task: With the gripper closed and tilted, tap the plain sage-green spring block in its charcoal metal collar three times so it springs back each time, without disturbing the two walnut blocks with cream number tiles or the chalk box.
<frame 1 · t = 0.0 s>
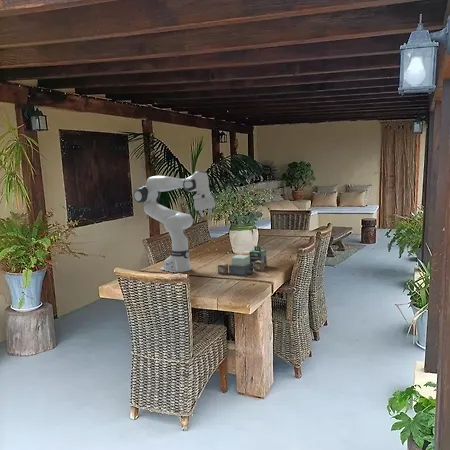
hand: (206, 215, 292), 39 cm above the table, tool pointing down, fingers open, 8 cm apart
chalk box: (258, 267, 308), on the table
metal collar: (241, 273, 293), on the table
walnut block left: (223, 273, 294), on the table
walnut block right: (259, 270, 298), on the table
plain block: (240, 262, 292), point 7 cm above the table, slide at -0.8 cm
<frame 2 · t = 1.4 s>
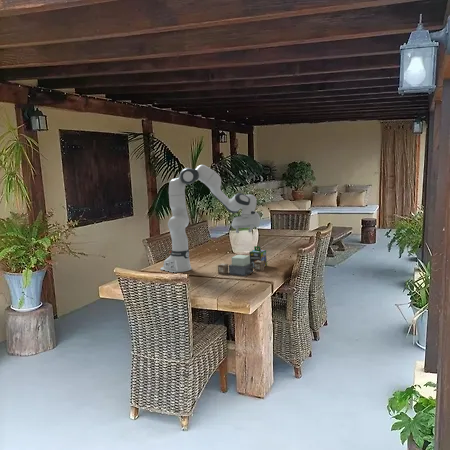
hand: (243, 232, 297), 26 cm above the table, tool tilted 45°, fingers open, 8 cm apart
nothing on the table moved.
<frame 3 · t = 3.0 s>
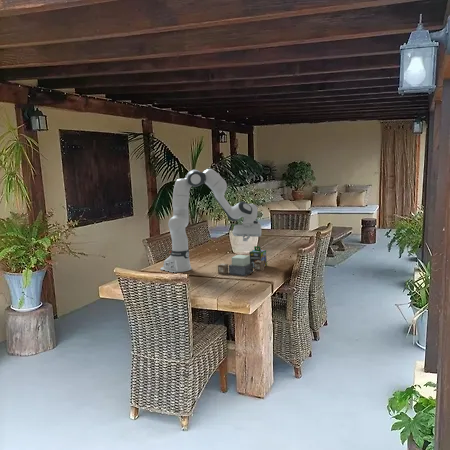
hand: (245, 240, 300), 20 cm above the table, tool tilted 45°, fingers closed
nothing on the table moved.
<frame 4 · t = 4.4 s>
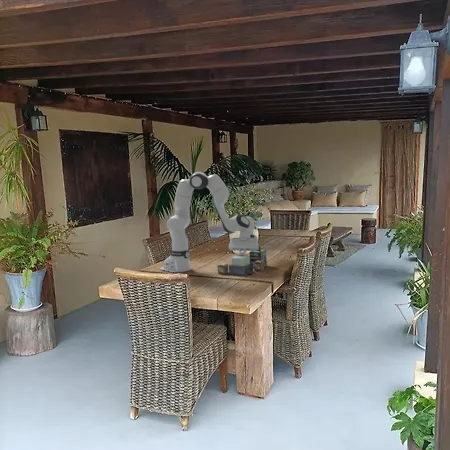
hand: (241, 255, 292), 12 cm above the table, tool tilted 45°, fingers closed
plain block: (240, 262, 292), point 7 cm above the table, slide at -0.9 cm, touching gripper
everything else where it was.
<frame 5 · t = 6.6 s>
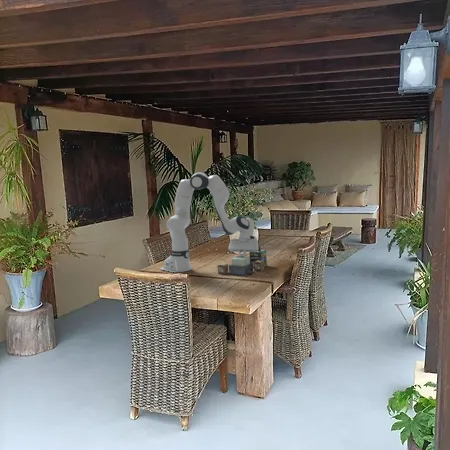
hand: (241, 256, 292), 11 cm above the table, tool tilted 45°, fingers closed, pressing on plain block
plain block: (240, 263, 292), point 6 cm above the table, slide at -1.6 cm, touching gripper
everything else where it was.
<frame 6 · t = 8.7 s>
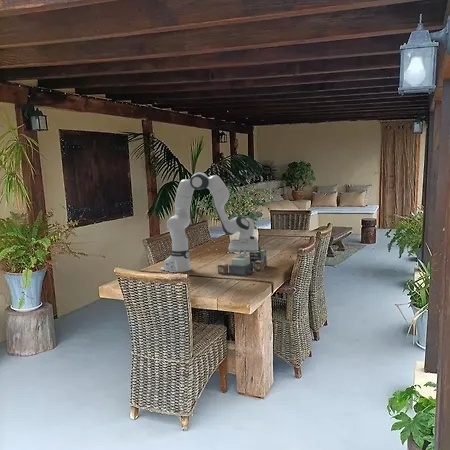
hand: (241, 257, 292), 11 cm above the table, tool tilted 45°, fingers closed, pressing on plain block
plain block: (240, 264, 292), point 6 cm above the table, slide at -1.9 cm, touching gripper
everything else where it was.
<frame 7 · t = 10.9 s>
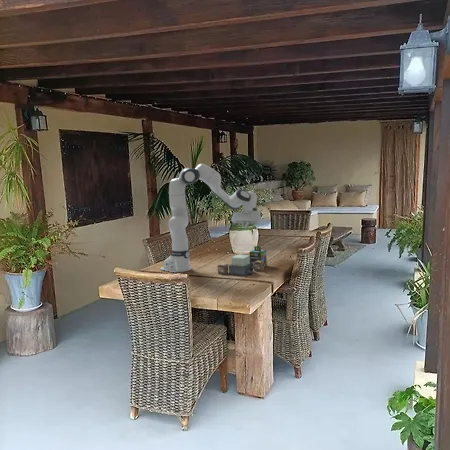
hand: (243, 227, 300), 29 cm above the table, tool tilted 45°, fingers closed
plain block: (240, 262, 292), point 7 cm above the table, slide at -0.7 cm
everything else where it was.
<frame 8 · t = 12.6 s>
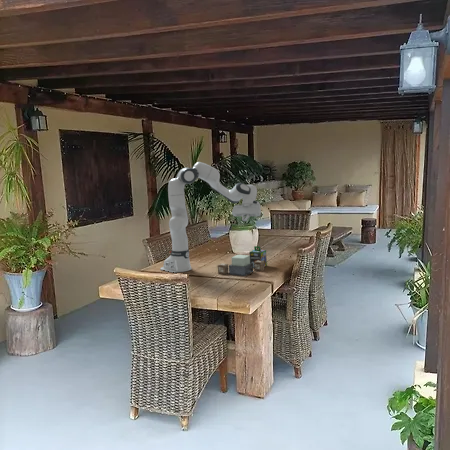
hand: (244, 220, 302), 33 cm above the table, tool tilted 45°, fingers closed
nothing on the table moved.
at the end: plain block slide at -0.7 cm; walnut block right moved 0.1 cm from its start; walnut block left moved 0.1 cm from its start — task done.
